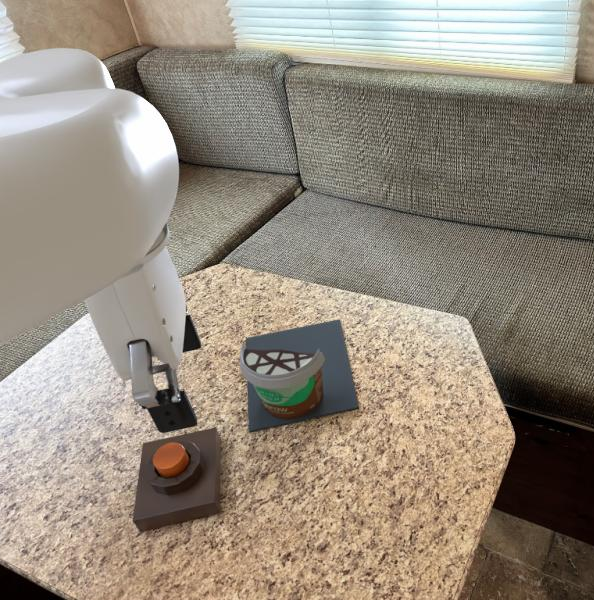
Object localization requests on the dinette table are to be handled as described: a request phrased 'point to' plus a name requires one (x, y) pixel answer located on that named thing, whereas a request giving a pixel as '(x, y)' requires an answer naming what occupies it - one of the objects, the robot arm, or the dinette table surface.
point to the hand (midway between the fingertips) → (182, 386)
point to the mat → (334, 369)
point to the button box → (180, 483)
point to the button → (171, 460)
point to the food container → (284, 380)
